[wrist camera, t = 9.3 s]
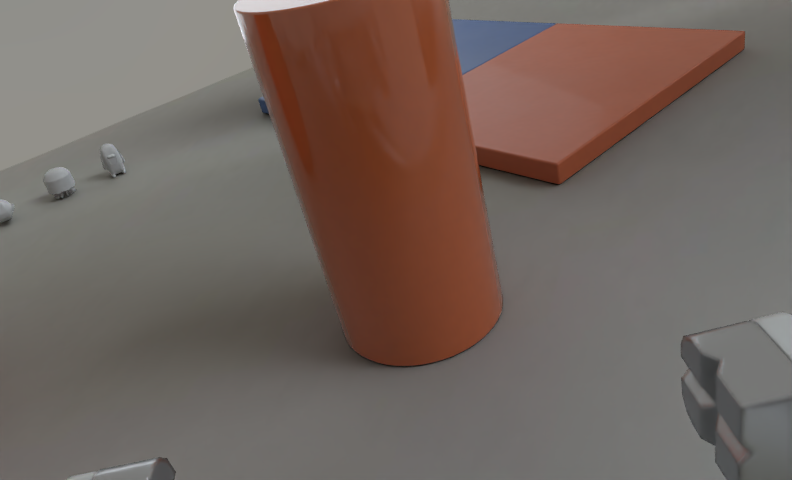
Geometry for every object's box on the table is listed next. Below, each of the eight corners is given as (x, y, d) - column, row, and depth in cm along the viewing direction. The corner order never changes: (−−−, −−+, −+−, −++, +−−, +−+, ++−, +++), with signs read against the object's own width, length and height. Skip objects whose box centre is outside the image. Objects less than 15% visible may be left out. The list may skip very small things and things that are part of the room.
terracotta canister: (537, 293, 23) (484, -57, 17) (419, 392, 20) (312, 15, 15) (424, 249, 27) (351, -48, 21) (313, 326, 24) (196, 10, 18)
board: (745, 49, 36) (745, 30, 36) (559, 185, 28) (557, 164, 28) (431, 30, 53) (428, 17, 53) (262, 112, 46) (257, 98, 45)
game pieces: (-5, 231, 38) (-24, 201, 37) (-7, 219, 40) (-25, 190, 39) (133, 173, 41) (119, 144, 40) (126, 165, 43) (112, 136, 42)
